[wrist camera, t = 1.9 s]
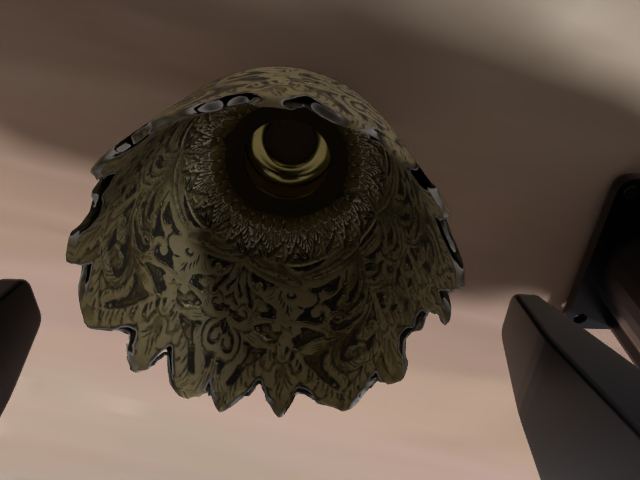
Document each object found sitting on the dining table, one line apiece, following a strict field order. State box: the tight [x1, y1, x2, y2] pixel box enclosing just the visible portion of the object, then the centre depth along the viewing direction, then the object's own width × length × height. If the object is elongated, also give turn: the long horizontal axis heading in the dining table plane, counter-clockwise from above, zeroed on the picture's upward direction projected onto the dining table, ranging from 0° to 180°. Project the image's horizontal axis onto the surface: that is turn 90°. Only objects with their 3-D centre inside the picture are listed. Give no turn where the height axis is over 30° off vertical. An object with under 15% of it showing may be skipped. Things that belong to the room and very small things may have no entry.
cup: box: [66, 66, 465, 417], centre depth 13 cm, size 8×7×8 cm
